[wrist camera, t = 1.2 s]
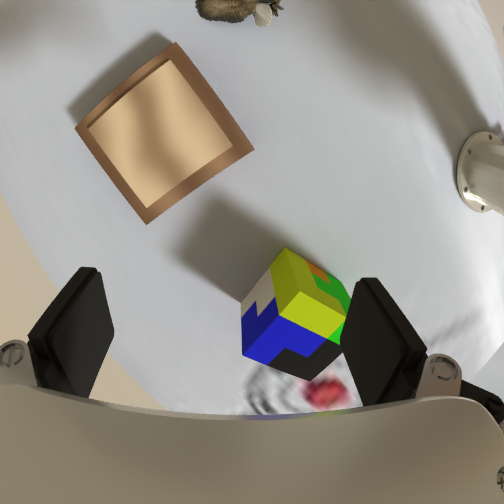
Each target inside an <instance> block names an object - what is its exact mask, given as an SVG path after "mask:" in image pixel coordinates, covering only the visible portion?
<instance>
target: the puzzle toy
mask: <svg viewBox="0 0 504 504" xmlns="http://www.w3.org/2000/svg"><path fill="white" fill-rule="evenodd" d="M350 302H351V298H350V297H349V295H348V293H347V291H346V289H345V288H344V286H343V284H342V283H341V282H340V281H338V280H337V279H335V278H334V277H332V276H330V275H329V274H327V273H326V272H324V271H323V270H321V269H319V268H318V267H316V266H315V265H313V264H311V263H310V262H308V261H307V260H305V259H303V258H302V257H300V256H299V255H297V254H295V253H294V252H292V251H291V250H289V249H287V248H286V247H284V249H283V250H282V251H281V253H280V254H279V255H278V256H277V258H276V259H275V260H274V262H273V263H272V264H271V265H270V267H269V268H268V269H267V271H266V272H265V273H264V274H263V276H262V277H261V278H260V279H259V281H258V282H257V283H256V285H255V286H254V287H253V288H252V290H251V291H250V292H249V293H248V295H247V296H246V297H245V298H244V300H243V301H242V302H241V328H242V355H243V356H245V357H248V358H250V359H253V360H255V361H258V362H260V363H262V364H265V365H267V366H270V367H273V368H275V369H278V370H280V371H283V372H285V373H288V374H291V375H293V376H296V377H299V378H302V379H304V380H307V381H311V380H312V379H314V378H315V377H316V376H317V375H318V374H319V373H320V372H322V371H323V370H324V369H325V368H326V367H327V366H328V365H329V364H331V363H332V362H333V361H334V360H335V359H336V358H337V357H338V356H339V355H340V354H341V353H342V352H343V351H342V349H341V346H340V335H341V332H342V328H343V325H344V322H345V319H346V315H347V312H348V309H349V305H350Z"/></svg>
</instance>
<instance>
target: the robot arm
mask: <svg viewBox="0 0 504 504" xmlns="http://www.w3.org/2000/svg"><path fill="white" fill-rule="evenodd" d="M457 184H458V189H459V193H460V195H461V198H462V200H463V201H464V203H465V204H466V205H467V206H468V207H469V208H471V209H472V210H474V211H476V212H480V213H483V212H487V211H489V210H491V209H493V210H495V211H497V212H498V213H500V214H502V215H504V144H503V143H502V141H501V140H500V138H499V137H497V136H496V135H495V134H493V133H491V132H487V131H479V132H476V133H474V134H473V135H471V136H470V137H469V138H468V139H467V141H466V142H465V144H464V146H463V148H462V150H461V152H460V156H459V160H458V166H457ZM27 336H28V338H29V341H28V343H27V344H26V343H25V342H24V341H21V340H11V341H8V342H6V343H4V344H3V345H1V346H0V504H504V403H503V401H502V400H501V399H500V398H499V397H498V396H496V395H495V394H493V393H491V392H488V391H486V390H484V389H482V388H479V387H477V386H475V385H473V384H470V383H468V382H466V381H464V380H462V371H461V368H460V366H459V365H458V363H457V362H456V361H455V360H454V359H452V358H451V357H449V356H447V355H444V354H432V355H430V356H429V357H428V356H427V354H426V351H427V347H426V346H425V344H424V343H423V341H422V340H421V338H420V337H419V335H418V334H417V332H416V331H415V329H414V328H413V327H412V325H411V324H410V322H409V321H408V319H407V318H406V317H405V315H404V314H403V312H402V311H401V309H400V308H399V307H398V305H397V304H396V303H395V301H394V300H393V298H392V297H391V296H390V294H389V293H388V292H387V290H386V289H385V288H384V286H383V285H382V284H381V282H380V281H379V280H378V279H377V278H361V280H360V281H358V282H356V284H355V288H354V291H353V295H352V298H351V302H350V305H349V309H348V312H347V315H346V319H345V322H344V325H343V328H342V332H341V335H340V346H341V349H342V351H343V354H344V356H345V359H346V361H347V364H348V366H349V369H350V372H351V374H352V377H353V379H354V382H355V385H356V387H357V390H358V393H359V395H360V398H361V401H362V403H363V406H364V407H357V408H350V409H342V410H334V411H324V412H313V413H300V414H281V415H215V414H197V413H183V412H173V411H162V410H153V409H145V408H139V407H132V406H126V405H120V404H114V403H109V402H104V401H98V400H94V399H89V395H90V392H91V390H92V387H93V385H94V382H95V380H96V377H97V375H98V372H99V370H100V368H101V365H102V363H103V360H104V358H105V356H106V353H107V351H108V349H109V346H110V344H111V342H112V340H113V337H114V327H113V323H112V319H111V315H110V311H109V307H108V303H107V299H106V294H105V290H104V285H103V280H102V276H101V273H100V272H97V269H96V268H93V267H80V268H79V270H78V271H77V272H76V273H75V274H74V275H73V277H72V278H71V279H70V280H69V281H68V283H67V284H66V285H65V286H64V288H63V289H62V290H61V291H60V293H59V294H58V295H57V296H56V298H55V299H54V300H53V301H52V303H51V304H50V305H49V307H48V308H47V309H46V311H45V312H44V314H43V315H42V316H41V317H40V319H39V320H38V322H37V323H36V324H35V326H34V327H33V328H32V330H31V331H30V333H29V334H28V335H27Z"/></svg>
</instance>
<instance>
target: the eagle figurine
mask: <svg viewBox="0 0 504 504" xmlns="http://www.w3.org/2000/svg"><path fill="white" fill-rule="evenodd" d="M280 1H281V0H197V1H195V3H196V4H197V5H196V8H197V9H199V11H198V13H200V16H201V17H203V18H205V19H206V20H209V21H212V20H214V21H219V20H220V21H224V22H226V21H227V22H229V23H237V22H241V21H244V18H246V17H247V15H250V14H251V13H252V14H253V16H254V19H255V22H256V25H257V26H267V25H268V24H269V23H270V22H271V20H272V15H275V16H276V17H277V16H278V13H277V11H278V10H277V8H278V9H280V10H283V9H284V8H283V7H280V6H279V3H280ZM264 3H271V4H269V5H268V4H264Z"/></svg>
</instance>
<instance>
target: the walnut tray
mask: <svg viewBox="0 0 504 504" xmlns="http://www.w3.org/2000/svg"><path fill="white" fill-rule="evenodd" d="M75 130H76V131H77V133H78V134H79V136H80V137H81V139H82V140H83V141H84V143H85V144H86V146H87V147H88V148H89V150H90V151H91V153H92V154H93V156H94V157H95V158H96V160H97V161H98V162H99V164H100V165H101V167H102V168H103V169H104V171H105V172H106V173H107V175H108V176H109V177H110V179H111V180H112V181H113V183H114V184H115V185H116V187H117V188H118V189H119V191H120V192H121V193H122V195H123V196H124V197H125V199H126V200H127V201H128V202H129V204H130V205H131V206H132V208H133V209H134V210H135V211H136V213H137V214H138V215H139V216H140V218H141V219H142V220H143V222H144V223H145V224H146V225H147V224H149V223H150V222H151V221H153V220H154V219H155V218H156V217H158V216H159V215H160V214H162V213H163V212H164V211H166V210H167V209H168V208H170V207H171V206H173V205H174V204H175V203H177V202H178V201H179V200H181V199H182V198H184V197H185V196H186V195H188V194H189V193H191V192H192V191H193V190H195V189H196V188H198V187H199V186H200V185H202V184H203V183H205V182H206V181H208V180H209V179H211V178H212V177H214V176H215V175H216V174H218V173H219V172H221V171H222V170H224V169H225V168H227V167H228V166H230V165H231V164H233V163H234V162H236V161H238V160H239V159H241V158H242V157H244V156H245V155H247V154H248V153H250V152H252V151H253V150H254V148H253V146H252V145H251V143H250V142H249V140H248V139H247V137H246V136H245V134H244V133H243V131H242V130H241V129H240V127H239V126H238V124H237V123H236V121H235V120H234V119H233V117H232V116H231V114H230V113H229V111H228V110H227V109H226V107H225V106H224V104H223V103H222V102H221V100H220V99H219V97H218V96H217V95H216V93H215V92H214V91H213V89H212V88H211V87H210V85H209V84H208V82H207V81H206V80H205V78H204V77H203V76H202V74H201V73H200V72H199V70H198V69H197V68H196V66H195V65H194V64H193V63H192V61H191V60H190V59H189V57H188V56H187V55H186V53H185V52H184V51H183V50H182V48H181V47H180V46H179V45H178V44H177V43H176V42H175V43H174V44H172V45H171V46H169V47H168V48H166V49H165V50H164V51H162V52H161V53H159V54H158V55H157V56H155V57H154V58H153V59H151V60H150V61H149V62H147V63H146V64H145V65H143V66H142V67H141V68H140V69H138V70H137V71H136V72H135V73H133V74H132V75H131V76H130V77H128V78H127V79H126V80H125V81H124V82H123V83H121V84H120V85H119V86H118V87H117V88H116V89H114V90H113V91H112V92H111V93H110V94H109V95H108V96H107V97H106V98H105V99H103V100H102V101H101V102H100V103H99V104H98V105H97V106H96V107H95V108H94V109H93V110H92V111H91V112H90V113H89V114H88V115H87V116H86V117H85V118H84V119H83V120H82V121H81V122H80V123H79V124H78V125H77V126H76V127H75Z"/></svg>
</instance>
